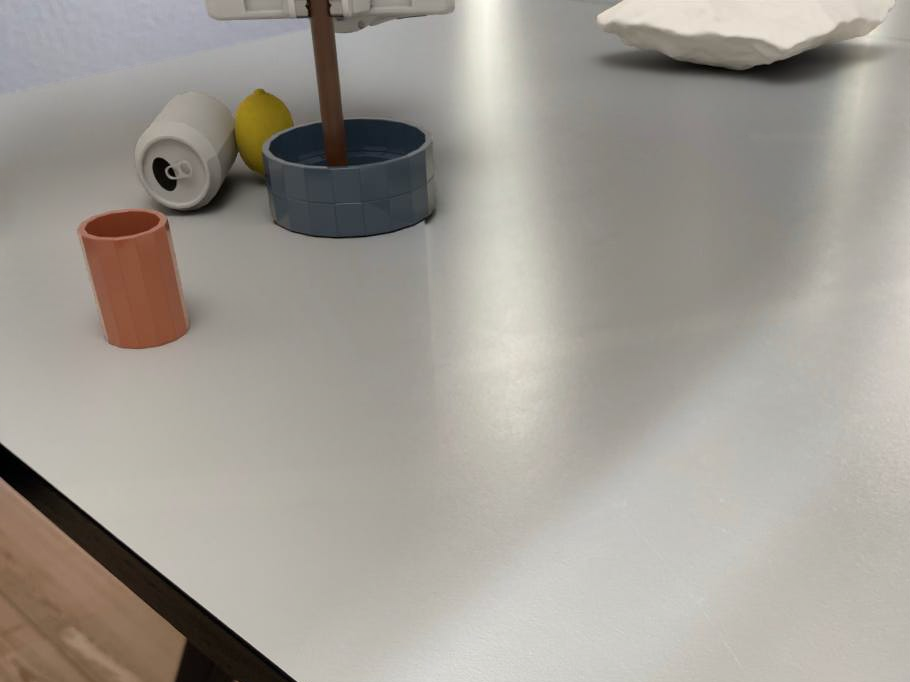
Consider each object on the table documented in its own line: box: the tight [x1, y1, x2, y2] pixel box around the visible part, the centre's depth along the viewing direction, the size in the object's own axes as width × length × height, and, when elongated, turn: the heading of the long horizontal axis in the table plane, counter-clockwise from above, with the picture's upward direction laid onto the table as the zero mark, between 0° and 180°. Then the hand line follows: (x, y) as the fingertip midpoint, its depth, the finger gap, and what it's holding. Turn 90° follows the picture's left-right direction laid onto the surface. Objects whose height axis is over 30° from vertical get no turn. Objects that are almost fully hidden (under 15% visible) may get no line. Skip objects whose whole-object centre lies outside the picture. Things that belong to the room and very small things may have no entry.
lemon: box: [234, 88, 295, 179], centre depth 102 cm, size 6×6×8 cm
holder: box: [76, 208, 191, 350], centre depth 77 cm, size 6×6×8 cm
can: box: [133, 91, 239, 212], centre depth 100 cm, size 8×8×12 cm
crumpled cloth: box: [596, 0, 897, 71], centre depth 130 cm, size 24×35×9 cm
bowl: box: [261, 116, 437, 238], centre depth 95 cm, size 14×14×6 cm
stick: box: [308, 0, 348, 167], centre depth 88 cm, size 2×2×20 cm
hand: (318, 5), depth 85 cm, fingers closed on stick, 2 cm apart
